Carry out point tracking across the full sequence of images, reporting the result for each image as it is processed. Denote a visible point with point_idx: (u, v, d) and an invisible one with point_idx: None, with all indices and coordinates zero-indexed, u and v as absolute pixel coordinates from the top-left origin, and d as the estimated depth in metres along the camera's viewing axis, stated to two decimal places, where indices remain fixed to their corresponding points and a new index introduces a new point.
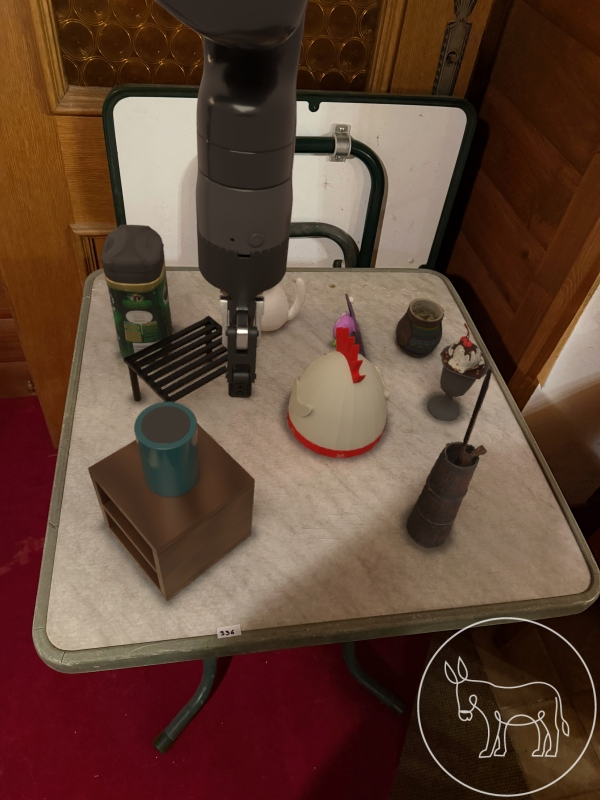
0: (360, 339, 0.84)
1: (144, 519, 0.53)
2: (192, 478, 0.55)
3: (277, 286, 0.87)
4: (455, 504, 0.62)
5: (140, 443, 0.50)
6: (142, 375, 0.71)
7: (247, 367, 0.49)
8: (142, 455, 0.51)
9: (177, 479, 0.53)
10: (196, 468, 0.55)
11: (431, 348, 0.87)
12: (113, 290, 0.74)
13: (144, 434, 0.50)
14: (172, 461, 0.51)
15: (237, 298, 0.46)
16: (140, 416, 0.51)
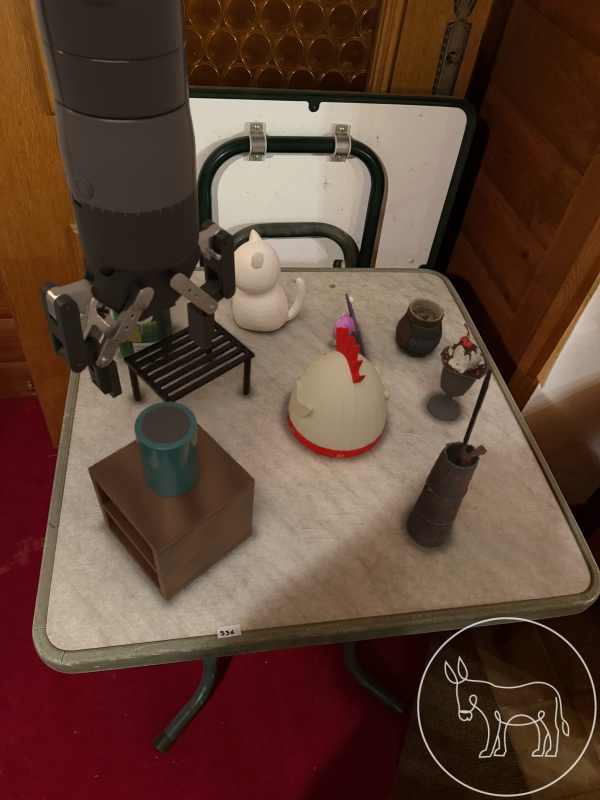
0: (360, 339, 0.84)
1: (144, 519, 0.53)
2: (192, 478, 0.55)
3: (277, 286, 0.87)
4: (455, 504, 0.62)
5: (140, 443, 0.50)
6: (142, 375, 0.71)
7: None
8: (142, 455, 0.51)
9: (177, 479, 0.53)
10: (196, 468, 0.55)
11: (431, 348, 0.87)
12: None
13: (144, 434, 0.50)
14: (172, 461, 0.51)
15: (87, 260, 0.35)
16: (140, 416, 0.51)
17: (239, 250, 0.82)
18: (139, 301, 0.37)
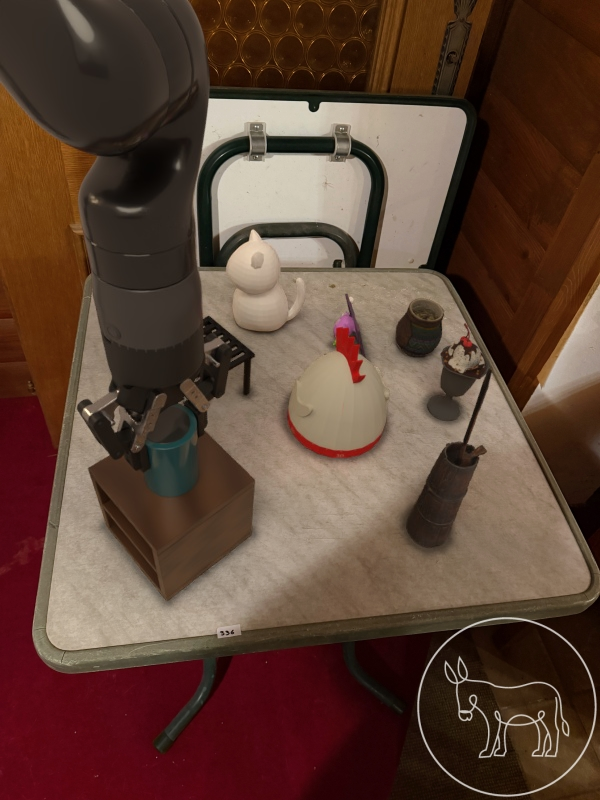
0: (360, 339, 0.84)
1: (144, 519, 0.53)
2: (192, 478, 0.55)
3: (277, 286, 0.87)
4: (455, 504, 0.62)
5: None
6: None
7: None
8: None
9: (177, 479, 0.53)
10: (196, 468, 0.55)
11: (431, 348, 0.87)
12: None
13: None
14: (172, 461, 0.51)
15: (113, 376, 0.43)
16: None
17: (239, 250, 0.82)
18: (154, 405, 0.45)
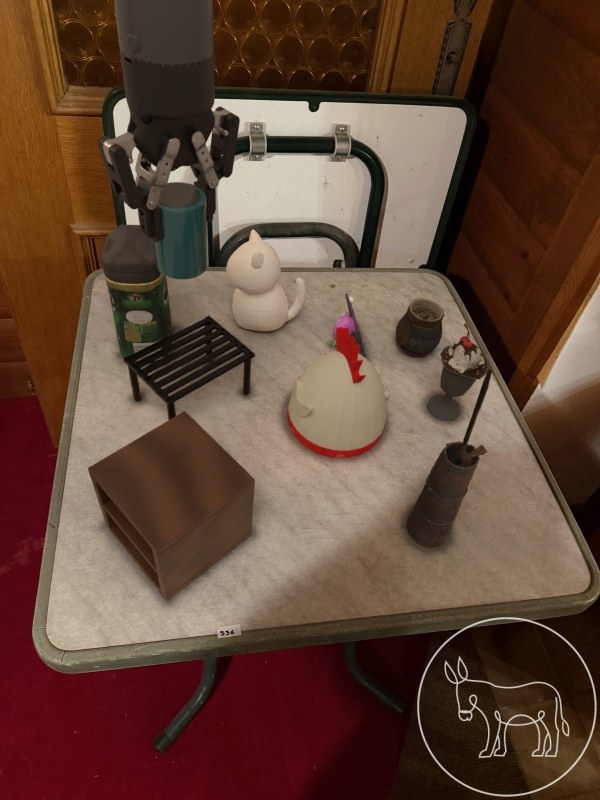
0: (360, 339, 0.84)
1: (144, 519, 0.53)
2: (202, 261, 0.59)
3: (277, 286, 0.87)
4: (455, 504, 0.62)
5: None
6: (142, 375, 0.71)
7: None
8: None
9: (187, 256, 0.57)
10: (205, 251, 0.59)
11: (431, 348, 0.87)
12: (113, 290, 0.74)
13: None
14: (183, 228, 0.55)
15: (131, 112, 0.47)
16: None
17: (239, 250, 0.82)
18: (169, 149, 0.49)
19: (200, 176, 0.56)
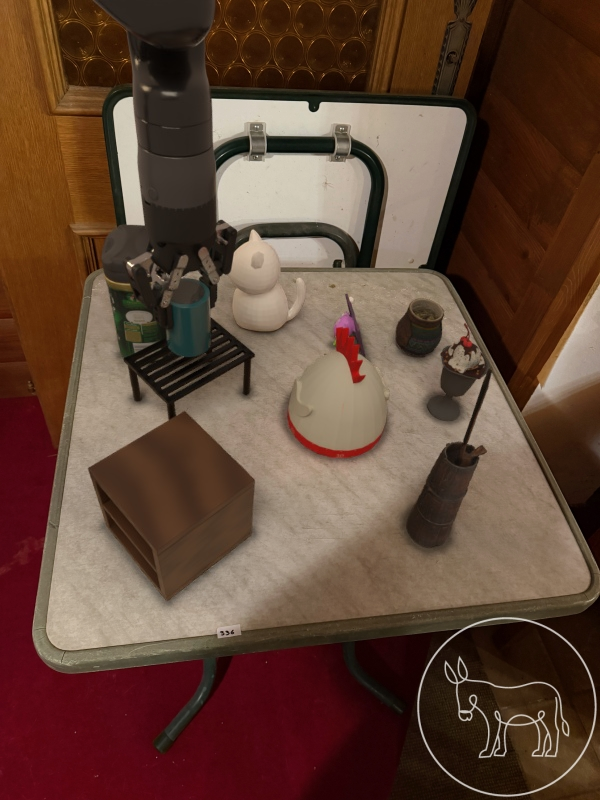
0: (360, 339, 0.84)
1: (144, 519, 0.53)
2: (205, 342, 0.70)
3: (277, 286, 0.87)
4: (455, 504, 0.62)
5: None
6: (142, 375, 0.71)
7: None
8: None
9: (194, 339, 0.68)
10: (208, 333, 0.70)
11: (431, 348, 0.87)
12: (113, 290, 0.74)
13: None
14: (190, 319, 0.66)
15: (149, 238, 0.58)
16: None
17: (239, 250, 0.82)
18: (179, 264, 0.60)
19: (204, 274, 0.67)
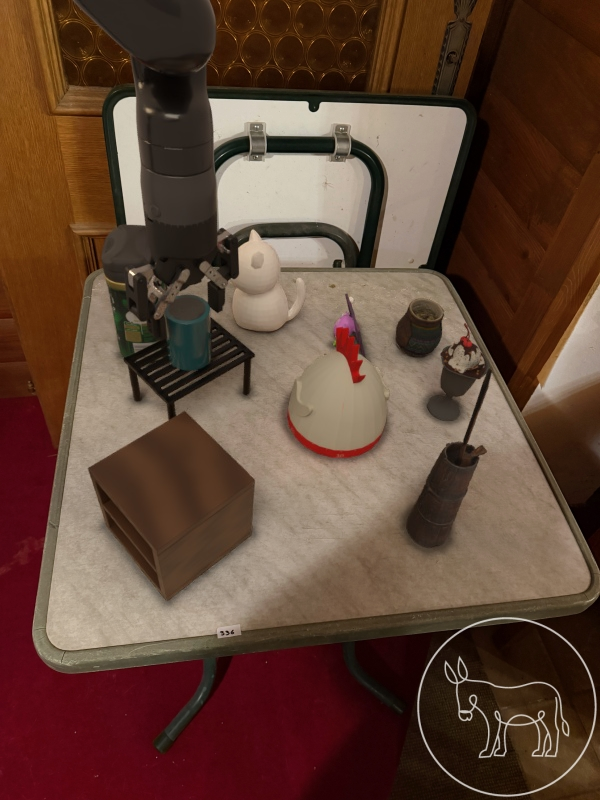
0: (360, 339, 0.84)
1: (144, 519, 0.53)
2: (206, 356, 0.72)
3: (277, 286, 0.87)
4: (455, 504, 0.62)
5: (168, 320, 0.67)
6: (142, 375, 0.71)
7: None
8: (169, 332, 0.68)
9: (195, 354, 0.70)
10: (209, 348, 0.72)
11: (431, 348, 0.87)
12: (113, 290, 0.74)
13: (171, 314, 0.67)
14: (191, 335, 0.68)
15: (151, 253, 0.59)
16: None
17: (239, 250, 0.82)
18: (181, 277, 0.61)
19: None
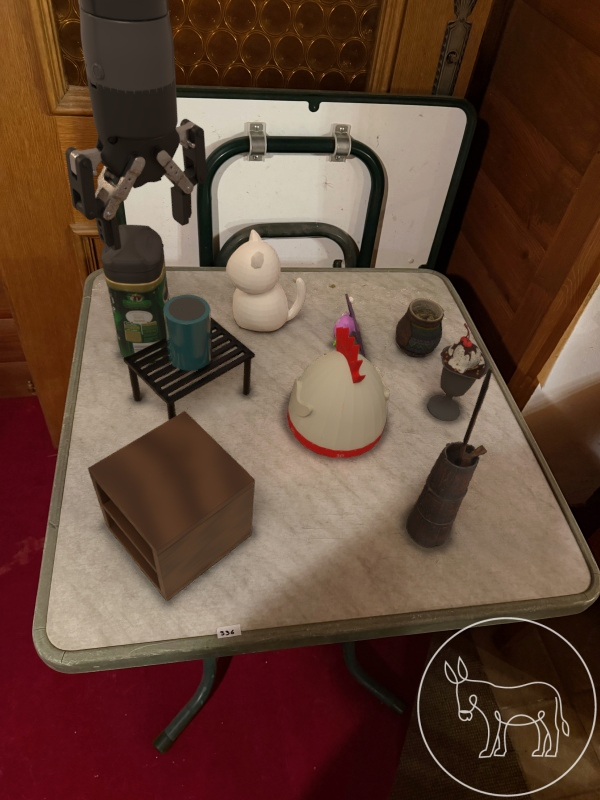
0: (360, 339, 0.84)
1: (144, 519, 0.53)
2: (206, 356, 0.72)
3: (277, 286, 0.87)
4: (455, 504, 0.62)
5: (168, 320, 0.67)
6: (142, 375, 0.71)
7: None
8: (169, 332, 0.68)
9: (195, 354, 0.70)
10: (209, 348, 0.72)
11: (431, 348, 0.87)
12: (113, 290, 0.74)
13: (171, 314, 0.67)
14: (191, 335, 0.68)
15: (98, 133, 0.50)
16: (167, 303, 0.68)
17: (239, 250, 0.82)
18: (134, 167, 0.52)
19: (176, 183, 0.60)
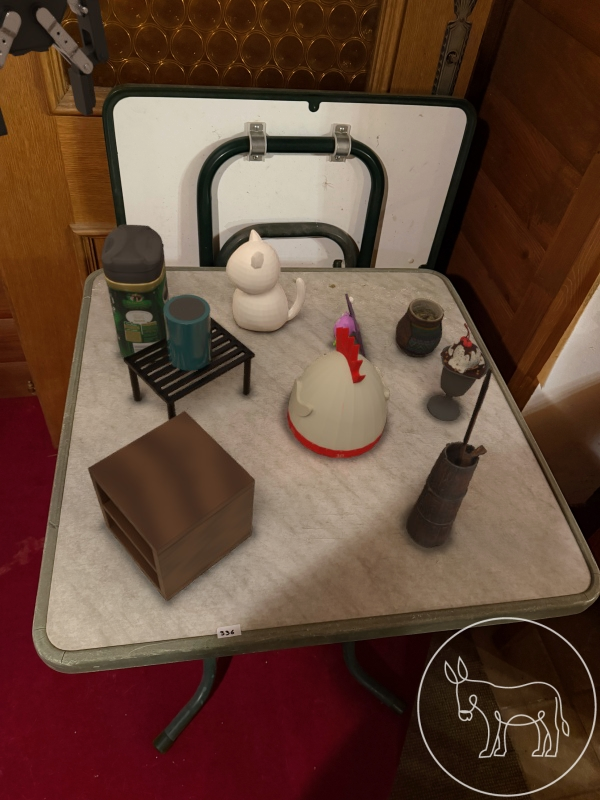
0: (360, 339, 0.84)
1: (144, 519, 0.53)
2: (206, 356, 0.72)
3: (277, 286, 0.87)
4: (455, 504, 0.62)
5: (168, 320, 0.67)
6: (142, 375, 0.71)
7: None
8: (169, 332, 0.68)
9: (195, 354, 0.70)
10: (209, 348, 0.72)
11: (431, 348, 0.87)
12: (113, 290, 0.74)
13: (171, 314, 0.67)
14: (191, 335, 0.68)
15: None
16: (167, 303, 0.68)
17: (239, 250, 0.82)
18: (7, 24, 0.45)
19: (72, 62, 0.52)
